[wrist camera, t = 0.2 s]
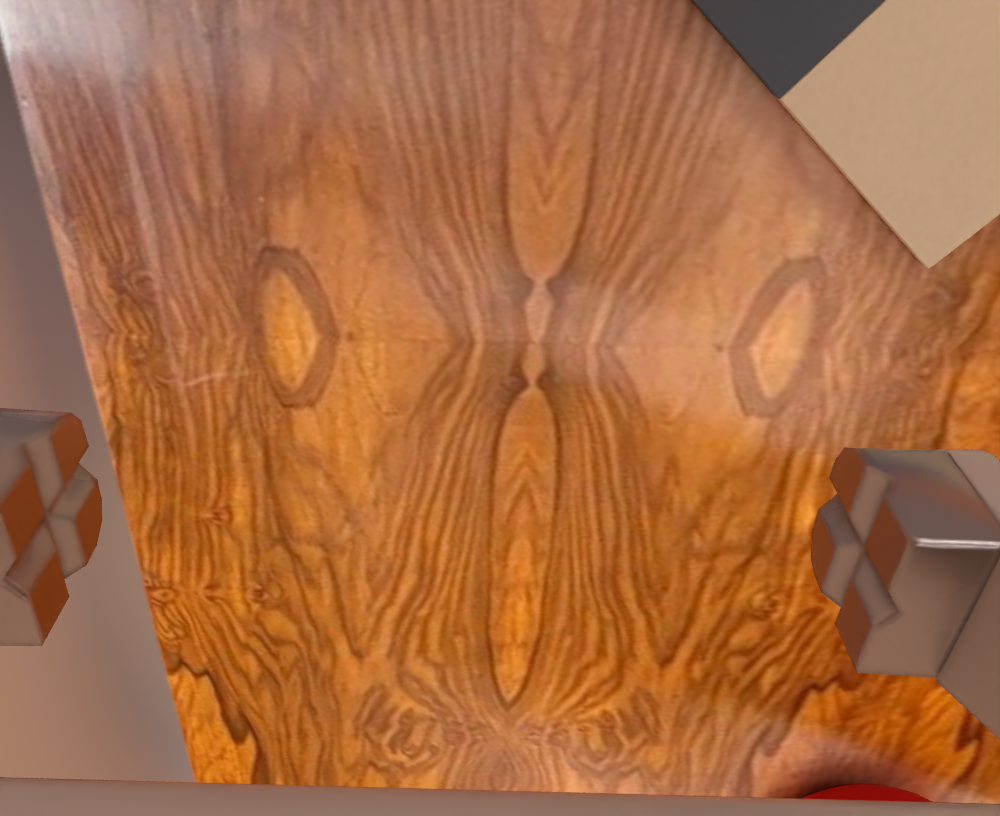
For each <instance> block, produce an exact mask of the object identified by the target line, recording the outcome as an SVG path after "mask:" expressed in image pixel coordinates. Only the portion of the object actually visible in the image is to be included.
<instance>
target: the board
mask: <svg viewBox="0 0 1000 816" xmlns="http://www.w3.org/2000/svg"><path fill="white" fill-rule="evenodd" d="M691 1H692V2H693V3H694V5H695V6H696V7H697V8H698V9H699V10H700V11H701V13H702V14H703V15H704V16H705V17H706V18H707V19H708V21H709V22H710V23H711V24H712V25H713V26H714V27H715V29H716V30H717V31H718V32H719V33H720V34H721V35H722V37H723V38H724V39H725V40H726V41H727V42H728V43H729V45H730V46H731V47H732V48H733V49H734V50H735V51H736V53H737V54H738V55H739V56H740V57H741V58H742V59H743V61H744V62H745V63H746V64H747V65H748V66H749V67H750V69H751V70H752V71H753V72H754V73H755V74H756V75H757V77H758V78H759V79H760V80H761V81H762V82H763V83H764V85H765V86H766V87H767V88H768V89H769V90H770V91H771V93H773V94H774V96H775V97H776V98H777V99H778V101H779V102H780V103H781V104H782V105H783V106H784V107H785V109H786V110H787V111H788V112H789V113H790V114H791V115H792V117H793V118H794V119H795V120H796V121H797V122H798V123H799V125H800V126H801V127H802V128H803V129H804V130H805V131H806V133H807V134H808V135H809V136H810V137H811V138H812V139H813V141H814V142H815V143H816V144H817V145H818V146H819V147H820V149H821V150H822V151H823V152H824V153H825V154H826V155H827V157H828V158H829V159H830V160H831V161H832V162H833V164H834V165H835V166H836V167H837V168H838V169H839V170H840V172H841V173H842V174H843V175H844V176H845V177H846V178H847V180H848V181H849V182H850V183H851V184H852V185H853V186H854V188H855V189H856V190H857V191H858V192H859V193H860V194H861V196H862V197H863V198H864V199H865V200H866V201H867V202H868V204H869V205H870V206H871V207H872V208H873V209H874V210H875V212H876V213H877V214H878V215H879V216H880V217H881V218H882V220H883V221H884V222H885V223H886V224H887V225H888V226H889V228H890V229H891V230H892V231H893V232H894V233H895V234H896V236H897V237H898V238H899V239H900V240H901V241H902V242H903V244H904V245H905V246H906V247H907V248H908V249H909V250H910V252H911V253H912V254H913V255H914V256H915V257H916V258H917V260H918V261H919V262H920V263H921V264H922V265H923V266H924V267H925V268H927V269H929V268H931V267H932V266H933V265H935V264H936V263H937V262H939V261H940V260H941V259H942V258H944V257H945V256H946V255H948V254H949V253H950V252H951V251H953V250H954V249H955V248H957V247H958V246H959V245H960V244H962V243H963V242H964V241H966V240H967V239H968V238H969V237H971V236H972V235H973V234H975V233H976V232H977V231H979V230H980V229H981V228H982V227H984V226H985V225H986V224H988V223H989V222H990V221H991V220H993V219H994V218H995V217H997V216H998V215H999V214H1000V0H691Z"/></svg>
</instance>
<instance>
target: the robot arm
mask: <svg viewBox="0 0 1000 816" xmlns="http://www.w3.org/2000/svg"><path fill="white" fill-rule="evenodd" d="M88 447H89V445H88V442H87V438H86V435H85V432H84V428H83V425H82V421H81V420H80V419H79V418H77V417H76V416H75V415H73V414H72V413H68V412H53V411H38V410H21V409H5V408H0V645H1V646H42V645H43V643H44V641H45V639H46V638H47V636H48V634H49V632H50V630H51V629H52V626H53V625H54V623H55V621H56V620H57V618H58V616H59V614H60V612H61V610H62V609H63V607H64V605H65V603H66V601H67V600H68V598H69V594H68V591H67V587H66V583H65V580H64V579H66V578H67V577H69V576H70V575H72V574H73V573H75V572H77V571H78V570H79V569H81V568H83V567H84V566H86V565H87V563H88V561H89V559H90V557H91V555H92V553H93V551H94V549H95V547H96V545H97V541H98V537H99V532H100V527H101V523H102V498H101V494H100V490H99V486H98V481H97V479H96V478H95V477H93V476H92V475H91V474H90V473H89V472H88V471H87V470H86V469H85V468H84V467H83V466H81V465H80V464H79V461H80V459H81V458H82V456H83V455H84V453H85V452H86V450H87V448H88ZM829 478H830V480H831V482H832V484H833V486H834V488H835V490H836V492H837V495H835V496H834V497H833V498H832V499H830V500H829V501H828V502H827V503H825V504H824V505H823V506H822V507H820V508H819V509H818V512H817V516H816V519H815V522H814V526H813V529H812V533H811V561H812V566H813V571H814V575H815V578H816V580H817V582H818V585H819V587H820V590H821V592H822V593H823V594H825V595H826V596H827V597H828V598H830V599H831V600H832V601H834V602H835V603H836V604H837V605H839V606H840V607H841V609H840V612H839V614H838V617H837V619H836V622H835V625H836V627H837V629H838V631H839V634H840V636H841V638H842V640H843V643H844V645H845V647H846V649H847V652H848V654H849V656H850V658H851V661H852V663H853V665H854V667H855V670H856V672H857V673H872V674H889V675H906V676H922V677H938V679H937V682H938V683H939V684H940V685H941V686H942V687H943V688H945V689H946V690H947V691H948V692H949V693H950V694H951V695H952V696H953V697H954V698H955V699H957V700H958V701H959V702H960V703H961V704H962V705H963V706H964V707H965V708H966V709H967V710H968V711H970V712H971V713H972V714H973V715H974V716H975V717H976V718H977V719H978V720H979V721H980V722H982V723H983V724H984V725H985V726H986V727H987V728H988V729H989V730H990V731H991V732H992V733H993V734H995V735H996V736H997V737H998V738H999V739H1000V461H999V460H998V459H997V457H996V456H994V455H992V454H990V453H988V452H986V451H984V450H960V449H937V450H910V449H878V448H846V447H845V448H844V449H843V450H842V452H841V453H840V454H839V456H838V457H837V458H836V460H835V463H834V466H833V468H832V471H831V474H830V477H829ZM0 816H1000V804H978V803H940V802H902V801H865V800H828V799H792V798H755V797H718V796H681V795H645V794H608V793H571V792H533V791H495V790H458V789H420V788H382V787H344V786H307V785H269V784H231V783H194V782H156V781H117V780H81V779H80V780H78V779H43V778H40V779H39V778H4V777H0Z"/></svg>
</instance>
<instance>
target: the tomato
mask: <svg viewBox="0 0 1000 816" xmlns="http://www.w3.org/2000/svg"><path fill="white" fill-rule="evenodd" d="M802 799H828V800H865V801H902V802H932V801H930V800H928V799H926V798H924V797H922V796H920V795H918V794H915V793H912V792H908V791H904V790H900V789H896V788H892V787H887V786H881V785H874V784H851V785H844V786H838V787H834V788H830V789H826V790H823V791H820V792H816V793H814V794H811V795H808V796H806V797H804V798H802Z"/></svg>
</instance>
